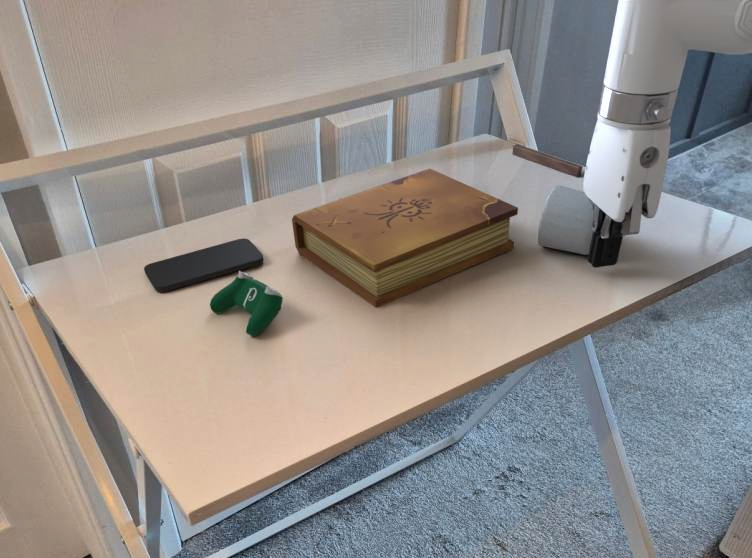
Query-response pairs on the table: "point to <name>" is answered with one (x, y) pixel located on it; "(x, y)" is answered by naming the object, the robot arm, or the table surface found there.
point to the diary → (403, 234)
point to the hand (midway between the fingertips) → (601, 263)
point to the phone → (202, 264)
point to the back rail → (547, 160)
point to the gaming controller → (249, 301)
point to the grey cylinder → (566, 221)
